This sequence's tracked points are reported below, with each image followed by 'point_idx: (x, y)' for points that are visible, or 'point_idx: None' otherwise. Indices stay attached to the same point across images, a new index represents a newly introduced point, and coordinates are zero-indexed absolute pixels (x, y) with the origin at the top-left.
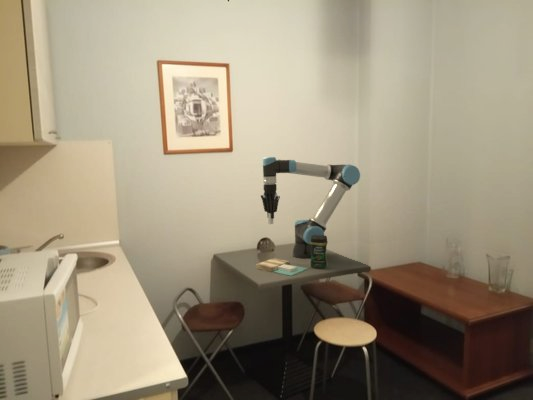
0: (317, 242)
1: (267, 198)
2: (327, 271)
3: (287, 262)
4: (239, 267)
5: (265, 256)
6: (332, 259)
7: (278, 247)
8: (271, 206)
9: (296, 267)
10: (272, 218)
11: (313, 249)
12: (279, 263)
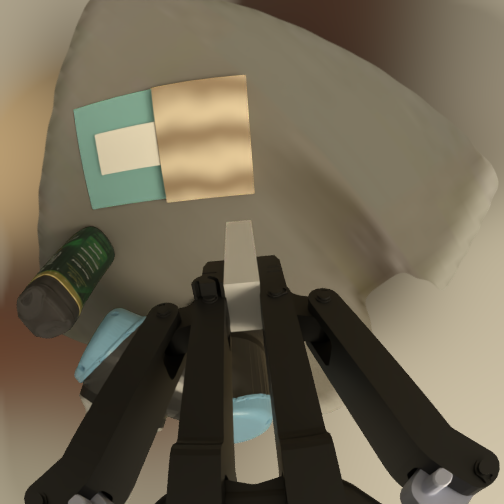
0: (30, 282)
1: (288, 498)
2: (46, 231)
3: (165, 189)
4: (312, 49)
5: (339, 231)
6: None
7: None
8: (191, 365)
9: (102, 172)
10: (208, 265)
11: (56, 260)
12: (172, 150)
